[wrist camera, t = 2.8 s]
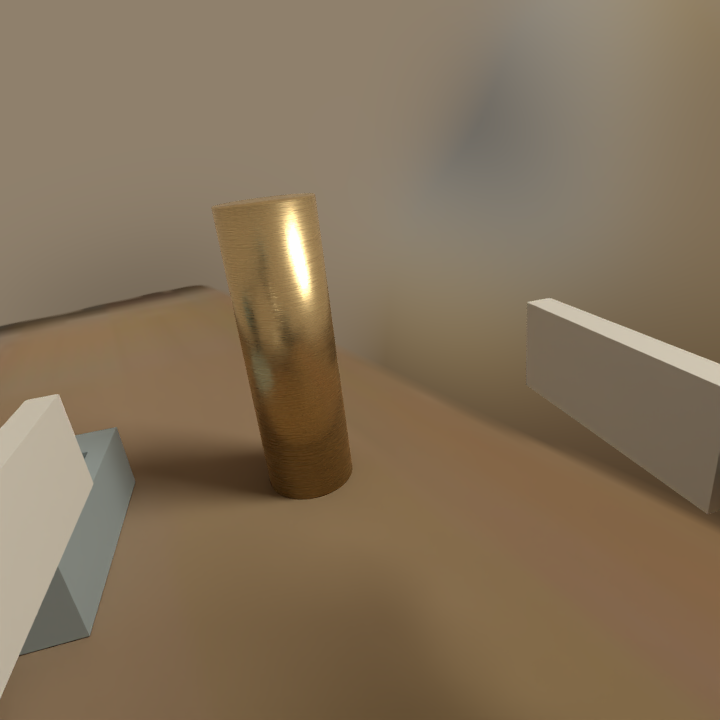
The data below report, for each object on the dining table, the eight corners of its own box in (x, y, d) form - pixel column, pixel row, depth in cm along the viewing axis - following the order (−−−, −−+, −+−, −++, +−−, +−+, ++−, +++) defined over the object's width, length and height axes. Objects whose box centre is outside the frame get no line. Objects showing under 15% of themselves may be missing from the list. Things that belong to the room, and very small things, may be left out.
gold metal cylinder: (274, 507, 24) (209, 211, 19) (267, 459, 28) (212, 203, 23) (361, 486, 25) (323, 196, 19) (342, 442, 29) (307, 191, 23)
